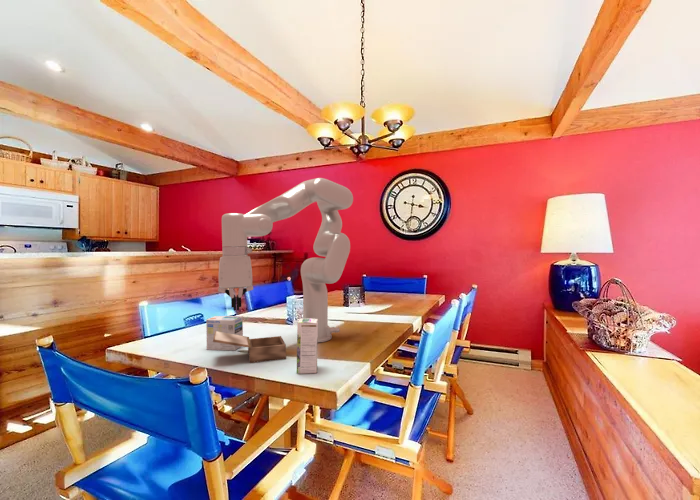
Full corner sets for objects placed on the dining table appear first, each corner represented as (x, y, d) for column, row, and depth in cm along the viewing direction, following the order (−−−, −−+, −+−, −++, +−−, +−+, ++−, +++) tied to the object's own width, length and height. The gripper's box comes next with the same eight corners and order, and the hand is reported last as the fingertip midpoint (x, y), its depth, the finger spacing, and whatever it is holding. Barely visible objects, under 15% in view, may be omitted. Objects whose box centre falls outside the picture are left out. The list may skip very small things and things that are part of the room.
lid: (215, 330, 106) (214, 332, 106) (213, 339, 96) (212, 341, 96) (249, 336, 109) (248, 338, 109) (251, 345, 99) (250, 347, 99)
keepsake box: (281, 348, 113) (281, 336, 113) (285, 358, 103) (285, 344, 103) (248, 352, 110) (248, 339, 110) (249, 363, 99) (249, 348, 99)
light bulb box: (243, 345, 118) (243, 315, 118) (235, 351, 111) (235, 319, 111) (215, 344, 119) (215, 315, 119) (205, 350, 112) (205, 319, 112)
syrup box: (298, 366, 96) (298, 318, 96) (317, 366, 97) (317, 317, 97) (296, 374, 91) (296, 322, 91) (317, 373, 91) (317, 322, 91)
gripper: (258, 251, 109) (259, 305, 109) (210, 252, 104) (211, 309, 104) (260, 252, 102) (261, 309, 102) (208, 253, 97) (210, 314, 97)
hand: (236, 309), depth 103 cm, fingers closed
